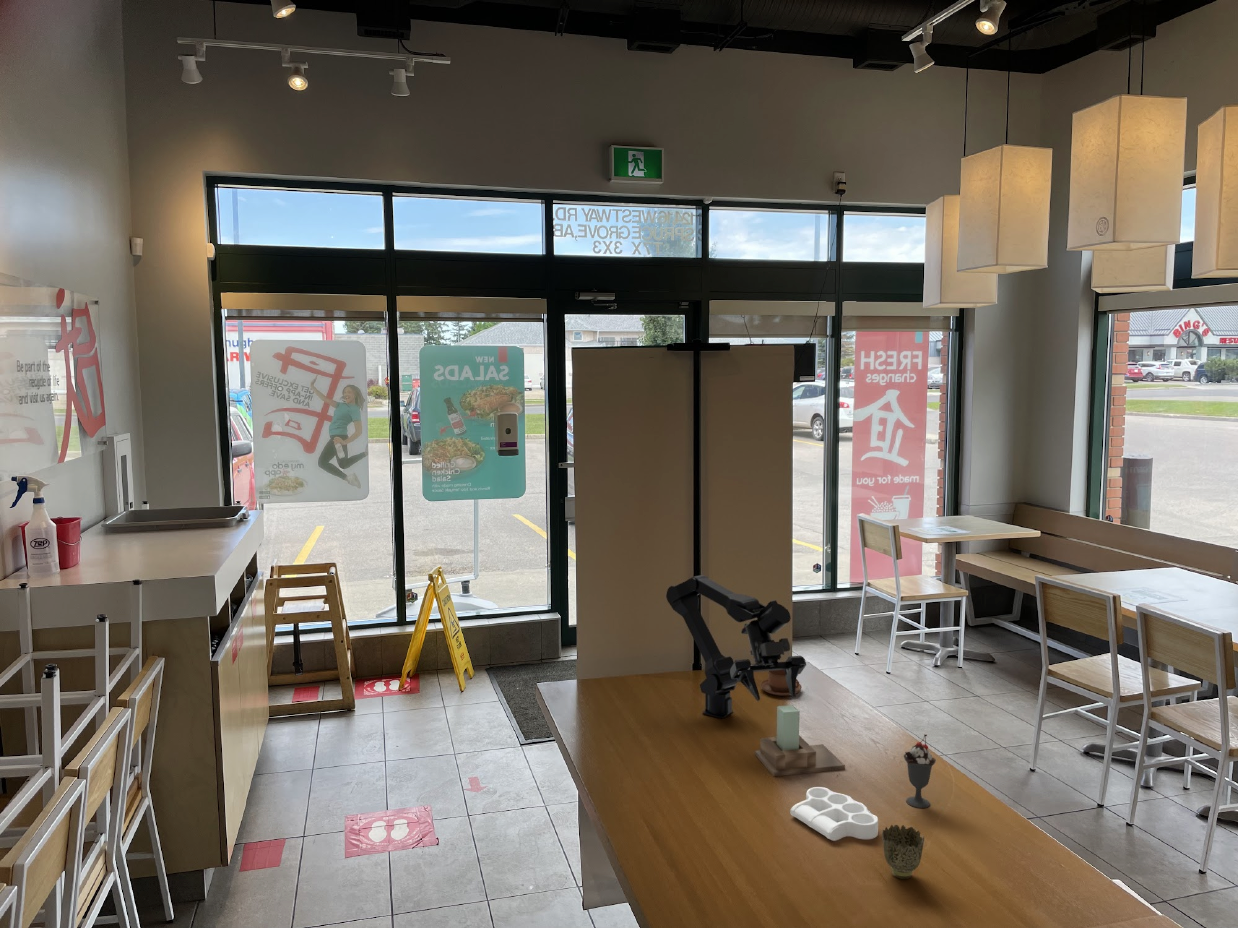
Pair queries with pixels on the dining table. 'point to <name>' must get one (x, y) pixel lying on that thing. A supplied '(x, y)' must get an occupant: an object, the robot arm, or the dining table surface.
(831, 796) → the white brass knuckles
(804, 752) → the wooden socket base
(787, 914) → the dining table surface
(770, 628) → the robot arm
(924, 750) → the sundae
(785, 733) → the sage green square pillar
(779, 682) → the cup and saucer
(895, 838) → the cup
